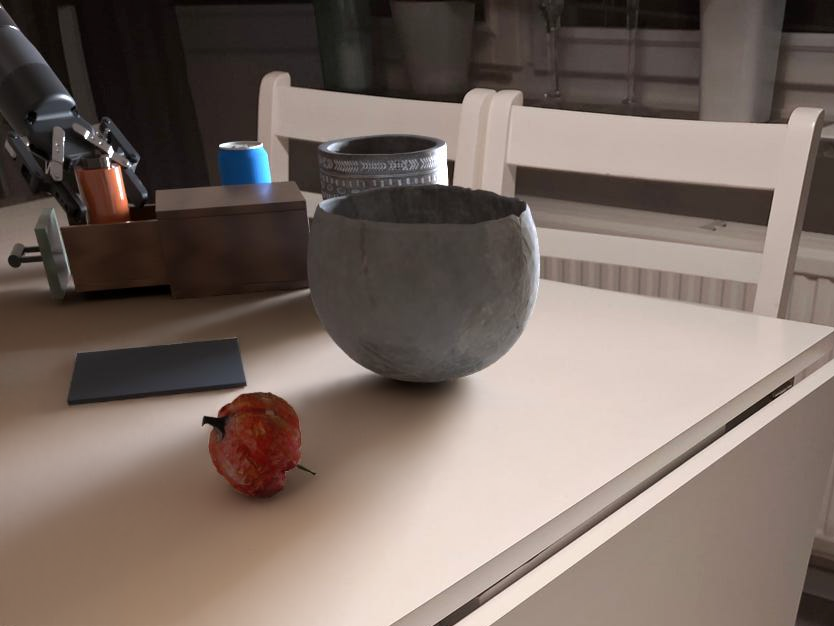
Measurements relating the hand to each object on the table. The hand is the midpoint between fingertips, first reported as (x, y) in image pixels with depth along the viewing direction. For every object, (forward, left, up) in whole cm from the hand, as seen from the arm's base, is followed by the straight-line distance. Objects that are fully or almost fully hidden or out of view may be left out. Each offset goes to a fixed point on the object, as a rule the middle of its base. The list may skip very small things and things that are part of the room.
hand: (113, 209), depth 115 cm
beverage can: (+16, +19, -9) cm, 26 cm away
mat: (+3, -31, -9) cm, 33 cm away
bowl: (+28, -40, -9) cm, 50 cm away
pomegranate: (+11, -61, -9) cm, 63 cm away
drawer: (-3, +1, -8) cm, 8 cm away
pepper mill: (-1, +1, -7) cm, 7 cm away
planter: (+30, -9, -9) cm, 33 cm away
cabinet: (+13, +1, -9) cm, 16 cm away
